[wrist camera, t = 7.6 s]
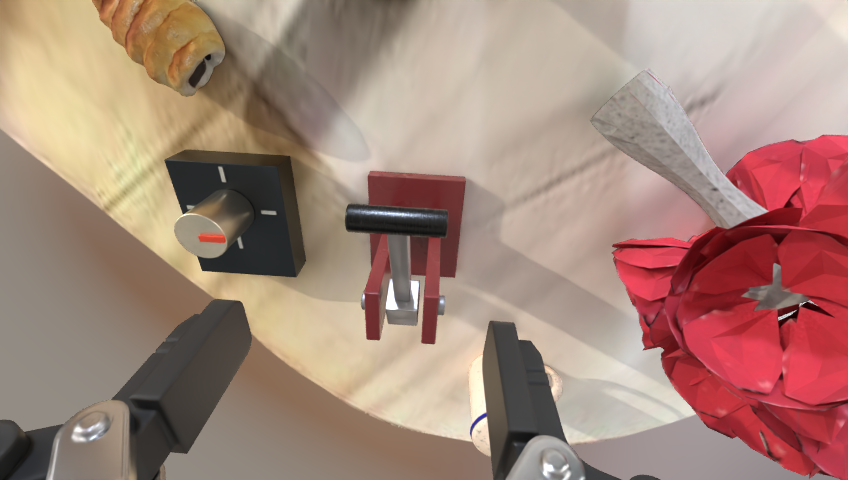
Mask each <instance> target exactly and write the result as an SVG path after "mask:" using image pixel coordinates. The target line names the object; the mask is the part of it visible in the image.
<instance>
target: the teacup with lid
mask: <svg viewBox="0 0 848 480" xmlns="http://www.w3.org/2000/svg"><path fill="white" fill-rule="evenodd" d="M482 358H483V354H482V355H480V356H479V357H477V358H476V359H475V360H474V361H473V362H472V364H471V366H470V368H469V389H470V404H471V419H472V426H471V429H470V435H471V438H472V441H473V443H474V445H475V446H476V447H477V449H479V450H480V451H481V452H482V453H484V454H485V455H487V456H490V457H491V452H490V442H489V432H488V423H487V413H486V403H485V394H484V384H483V375H482ZM544 367H545V373H546V374H549V375H550V376H551V378H552V381H553V386H552V389H551V391H552V395H553V398H554V401H555V402H556V401H557V400H558V399H559V398H560V396H561V393H562V389H563V386H562V381H561V379H560V377H559V375H558V374H557V373H556V372H555V371H554V370H553V369H552V368H550V367H548V366H545V365H544Z"/></svg>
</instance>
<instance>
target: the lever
mask: <svg viewBox="0 0 848 480" xmlns="http://www.w3.org/2000/svg"><path fill="white" fill-rule="evenodd" d="M345 226H346V230H347V231H348V232H355V233H371V234H386V235H387V241H388V250H389V258H390V266H391V275H392V279H390V280H389V287H388V294H387V301H386V315H387V320H388V324H397V325H412V326H417V322H418V309H419V296H420V281H416V280H411V258H410V236H417V237H432V238H446V237H447V229H448V210H444V209H428V208H412V207H397V206H381V205H365V204H348V206H347V209H346V215H345Z"/></svg>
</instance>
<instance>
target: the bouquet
mask: <svg viewBox="0 0 848 480" xmlns="http://www.w3.org/2000/svg"><path fill="white" fill-rule="evenodd" d="M590 121H591V123H592V124H593V125H594V127H595V128H596V129H597V130H598V131H599V132H600V133H601V134H602V135H603V136H604V137H605V138H606V139H607V140H608V141H609V142H611V143H612V144H613V145H614V146H616V147H617V148H619V149H620V150H621V151H623V152H624V153H625V154H627V155H628V156H630V157H631V158H633V159H635V160H636V161H638V162H639V163H641V164H643V165H644V166H646V167H648V168H649V169H651V170H653V171H654V172H656V173H658V174H659V175H661V176H662V177H664V178H666V179H667V180H669V181H670V182H672V183H674V184H675V185H676V186H678V187H679V188H680V189H682V190H683V191H684V192H686V193H687V194H688V195H690V196H691V197H692V198H693V199H694V200H695V201H696V202H697V203H698V204H699V205H700V206H701V207H702V208H703V209H704V210H705V212H706V213H707V214H708V215H709V216H710V218H711V219H712V220H713V221H714V223H715V224H716V226H717V227H715V228H713V229H711V230H709V231H707V232H705V233H703V234H701V235H700V236H693V237H692V238H691V239H690V240H689V241H688V242H684V241H681V240H677V239H674V238H660V239H648V240H636V239H630V240H627V241H623V242H620V243H617V244H613V245H612V247H616V248H618V249H616V250H615V251H613V252H612V254H613V255H614V256H615V257H614V258H613V261H614V263H615V266H616V269H617V272H618V276H619V278H620V279H621V280H622V282H623V283H624V284H625V286H626V291H627V293H628V295H629V297H630V300H631V302H632V304H633V305H634V306H635V307H636V309H637V312H638V314H639V323H640V326H641V328H642V330H643V337H642V341H643V344H644V346H645V348H644V349H643V350H647V349H652V348H657V347H661V348H663V349H664V351H663V352H662V353H661V357H662V358H661V361H662V367H663V369H664V371H665V373H666V375H667V377H668V378H669V380H670V382H671V383H672V385H673V387H674V388H675V390H676V391H677V392H678V393H679V394H680V395H681V396H682V398H683V399H684V400H685V401H686V402H687V403H688V404H689V405H690V406H691V407H692V409H693V410H694V411H695V412H696V414H697V415H698V416H699V417H700V418H701V420H702V421H703V422H704V424H705V425H706V426H707V427H708V428H710V429H712V430H715V431H717V432H719V433H721V434H723V435H726V436H728V437H730V438H735V437H736V436H738V437H739V438H740V439H741V440H742V441H743V442H745V443H746V444H747V445H748V446H749V447H750V448H752V449H753V450H755V451H757V452H759V453H761V454H763V455H764V456H766V457H768V458H770V459H772V460H773V461H775V462H777V463H779V464H780V465H781V466H782V467H783V468H785V469H788V470H791V471H793V472H796V473H798V474H801V475H804V476H806V475H808V474H810V475H809V478H811V477H812V476H814V475H815V474H816V473H819V474H823V475H828V476H832V477H836V478H839V479H841V480H848V135H822V136H820V137H818V138H816V139H815V140H808V141H802V142H799V141H796V140H788V141H783V142H778V143H773V144H769V145H766V146H764V147H761V148H759V149H756V150H754V151H751V152H749V153H747V154H746V155H745V156H744V157H743V159H742V160H740V161H739V162H738V163H737V164H736V165H735V166H734V167H733V168H732V169H731V170H729V171H728V172H727V174H726V175H724V174H723V173H722V172H721V171H720V169H719V168H718V166H717V165H716V164H715V162H714V161H713V159H712V158H711V157H710V155H709V153H708V151H707V150H706V148H705V146H704V144H703V143H702V141H701V139H700V137H699V135H698V134H697V132H696V130H695V128H694V126H693V125H692V123H691V121H690V119H689V118H688V116H687V114H686V113H685V111H684V109H683V108H682V106H681V105H680V104H679V102H678V101H677V99H676V98H675V96H674V95H673V93H672V91H671V89H670V87H668V88H667V87H666V85H665V84H664V83H663V82H662V81H661V80H660V79H659V78H657V77H656V76H655V74H654V73H653V72H652V71H651V70H650V68H648V69H646V70H644V71H643V72H641V73H640V74H638V75H637V76H636V77H635V78H633V79H632V80H631V81H630V82H629V83H627V84H626V85H625V86H624V87H623V88H622V89H620V90H619V91H618V92H617V93H616V94H615V95H614V96H613V97H612V98H611V99H610V100H609V101H608V102H606V103H605V104H604V105H603V106H602V107H601V108H600V109H599V111H598V112H597V113H596V114H595V115H594V116H593V117H592V119H591V120H590ZM809 300H811V301H812V302H813V303H815V304H816V305H814V304H812V303H809V302H807V301H809ZM803 302H806V303H805V304H803V305H802V306H800V307H799V303H803ZM817 305H818V306H817ZM797 309H798V310H797ZM795 310H797V311H795ZM792 311H795V312H794V313H793V314H792V315H790V316H788V317H786V318H784V319H782V320H779V321H778V317H780V316H782V315H785V314H787V313H790V312H792Z"/></svg>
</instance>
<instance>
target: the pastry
mask: <svg viewBox="0 0 848 480" xmlns="http://www.w3.org/2000/svg"><path fill="white" fill-rule="evenodd" d="M92 2H93V3H94V5H95V7H96V8H97V10H98V12H99V15H100V16H99V17H100V20H101V21H102V22H103V23H104V24H105V25H106V26H107V27H109V28H110V29H111V31H112V34H113V38H114V40H115V41H116V42H117V43H119V44H120V45H122V46H123V47H124V48H125V49H126V52H127V54H128V56H129V57H130V58H131V59H132V60H133V61H135V62H136V63H139V64H141V65H143V66H144V67H145V68H146V70H147V73H148V75H149V77H150V78H151V79H153V80H154V81H156V82H157V83H160V84H164V85H166V86H169V87H171V88H173V89H174V90H175V91H177V92H179V93H180V94H181V95H182V96H186V97H187V96H193V95H194V94H195V93H196V91H197V89H199V88H201V87H202V86H204V85H205V84H206V83H207V82H208V81H209V79H210V76H211V74H212V72H213V68H214V67H215V66H218V65H219V64H220V63H221V62H222V60H223V58H224V57H225V46H224V44H223V41H222V39H221V37H220V35H219V33H218V31H217V29H216V27H215V25H214V24H213V22H212V21H211V19H210V18H209V16H208V15H207V14H206V13H205V12H204V11H203V10H202V9H201V8H199V7H198V5H196V4H195V3H193V2H192V1H190V0H92Z"/></svg>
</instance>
